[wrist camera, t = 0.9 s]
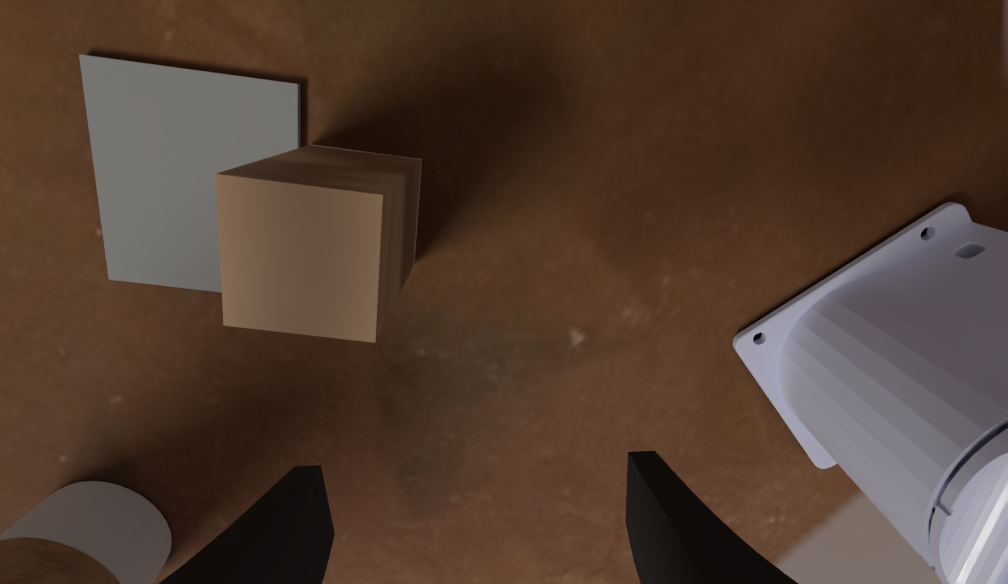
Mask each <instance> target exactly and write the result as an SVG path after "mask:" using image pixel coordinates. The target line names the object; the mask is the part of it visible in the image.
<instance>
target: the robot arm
mask: <svg viewBox="0 0 1008 584" xmlns="http://www.w3.org/2000/svg"><path fill="white" fill-rule="evenodd" d="M925 228H927V233H926V234H925V235H924V236H923V237H921V232H922V231H923V230H924V229H925ZM758 333H762V336H761V337H760V338H759V339H758V340H753V338H754V336H755V335H756V334H758ZM733 347H734V349H735V351H736V352H737V354H738V355H739V356H740V358H741V359H742V361H743V362H744V364H745V365H746V367H747V368H748V369H749V371H750V372H751V374H752V375H753V377H754V378H755V380H756V381H757V382H758V384H759V385H760V387H761V388H762V390H763V391H764V393H765V394H766V395H767V397H768V398H769V400H770V401H771V403H772V404H773V406H774V407H775V408H776V410H777V411H778V413H779V414H780V416H781V417H782V419H783V420H784V421H785V423H786V424H787V426H788V427H789V429H790V430H791V432H792V433H793V434H794V436H795V437H796V439H797V440H798V442H799V443H800V445H801V446H802V447H803V449H804V450H805V452H806V453H807V455H808V456H809V458H810V459H811V460H812V462H813V463H814V464H815V465H816V466H817V467H818V468H821V469H826V468H829V467H832V466H834V465H835V464H837V463H838V464H839V465H840V467H841V468H842V469H843V470H844V471H845V472H846V473H847V474H848V475H849V477H850V478H851V479H852V480H853V481H854V482H855V483H856V484H857V486H858V487H859V488H860V489H861V490H862V491H863V492H864V493H865V495H866V496H867V497H868V498H869V499H870V500H871V501H872V502H873V503H874V504H875V506H876V507H877V508H878V509H879V510H880V511H881V512H882V513H883V514H884V516H885V517H886V518H887V519H888V520H889V521H890V522H891V523H892V525H893V526H894V527H895V528H896V529H897V530H898V531H899V533H900V534H901V535H902V536H903V537H904V538H905V539H906V540H907V541H908V542H909V544H910V545H911V546H912V547H913V548H914V549H915V550H916V551H917V553H918V554H919V555H920V556H921V557H922V558H923V559H924V560H925V562H926V563H927V564H928V565H929V566H930V567H931V568H932V569H933V570H934V572H935V573H936V574H937V575H938V576H939V577H940V579H941V581H942V584H1008V232H1005V231H1001V230H998V229H995V228H991V227H988V226H984V225H981V224H977V223H974V222H972V220H971V218H970V216H969V214H968V212H967V210H966V208H965V207H964V206H963V205H960V204H957V203H953V202H948V203H945V204H942V205H941V206H939V207H937V208H936V209H934V210H933V211H931V212H930V213H928V214H926V215H925V216H923V217H922V218H920V219H918V220H917V221H915V222H914V223H912V224H911V225H909V226H907V227H906V228H904V229H903V230H901V231H899V232H898V233H896V234H895V235H893V236H892V237H890V238H888V239H887V240H885V241H884V242H882V243H881V244H879V245H877V246H876V247H874V248H873V249H871V250H869V251H868V252H866V253H865V254H863V255H862V256H860V257H858V258H857V259H855V260H854V261H852V262H850V263H849V264H847V265H846V266H844V267H843V268H841V269H839V270H838V271H836V272H835V273H833V274H831V275H830V276H828V277H827V278H825V279H824V280H822V281H820V282H819V283H817V284H816V285H814V286H812V287H811V288H809V289H808V290H806V291H805V292H803V293H801V294H800V295H798V296H797V297H795V298H794V299H792V300H790V301H789V302H787V303H786V304H784V305H782V306H781V307H779V308H778V309H776V310H775V311H773V312H771V313H770V314H768V315H767V316H765V317H763V318H762V319H760V320H759V321H757V322H756V323H754V324H752V325H751V326H749V327H748V328H746V329H744V330H743V331H741V332H740V333H738V334H737V335H736V336H735V338H734V340H733ZM626 526H627V531H628V536H629V540H630V545H631V550H632V554H633V559H634V563H635V567H636V570H637V573H638V576H639V579H640V582H641V584H798V583H797V582H795V581H794V580H793V579H791V578H790V577H788V576H787V575H786V574H784V573H783V572H782V571H781V570H779V569H778V568H777V567H775V566H774V565H773V564H771V563H770V562H769V561H768V560H766V559H765V558H764V557H762V556H761V555H760V554H759V553H757V552H756V551H755V550H754V549H753V548H751V547H750V546H749V545H748V544H747V543H746V542H744V541H743V540H742V539H741V538H740V537H739V536H738V535H737V534H735V533H734V532H733V531H732V530H731V529H730V528H729V527H728V526H727V525H726V524H725V523H723V522H722V521H721V520H720V519H719V518H718V517H717V516H716V515H715V514H714V513H713V512H712V511H711V510H710V509H709V508H708V507H707V506H706V505H705V504H704V503H703V502H702V501H701V500H700V499H699V498H698V497H697V496H696V495H695V494H694V493H693V492H692V491H691V490H690V489H689V488H688V486H687V485H686V484H685V483H684V482H683V481H682V480H681V479H680V478H679V477H678V476H677V475H676V474H675V472H674V471H673V470H672V469H671V468H670V467H669V466H668V465H667V464H666V462H665V461H664V460H663V459H662V458H661V457H660V456H659V455H658V454H657V453H656V452H655V451H639V452H628V469H627V497H626ZM334 535H335V533H334V528H333V523H332V518H331V513H330V508H329V503H328V498H327V494H326V489H325V484H324V479H323V474H322V469H321V465H319V466H296V467H294V468H293V469H292V470H291V471H289V472H288V473H287V474H286V475H285V476H284V477H283V478H282V479H280V480H279V481H278V482H277V483H276V484H275V485H274V486H273V487H272V488H271V489H270V490H269V491H268V492H266V493H265V494H264V495H263V496H262V497H261V498H260V499H259V500H258V501H257V502H256V503H255V504H254V505H252V506H251V507H250V508H249V509H248V510H247V511H246V512H245V513H244V514H242V515H241V516H240V517H239V518H238V519H237V520H236V521H235V522H234V523H233V524H231V525H230V526H229V527H228V528H227V529H226V530H225V531H223V532H222V533H221V534H220V535H219V536H217V537H216V538H215V539H214V540H213V541H211V542H210V543H209V544H208V545H207V546H206V547H204V548H203V549H202V550H201V551H200V552H198V553H197V554H196V555H195V556H194V557H192V558H191V559H190V560H189V561H188V562H186V563H185V564H184V565H182V566H181V567H180V568H179V569H177V570H176V571H175V572H173V573H172V574H171V575H169V576H168V577H167V578H166V579H164V580H163V581H161V582H160V583H159V584H322V581H323V578H324V575H325V571H326V567H327V563H328V560H329V556H330V551H331V547H332V543H333V539H334Z"/></svg>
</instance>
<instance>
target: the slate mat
mask: <svg viewBox="0 0 1008 584" xmlns="http://www.w3.org/2000/svg"><path fill="white" fill-rule="evenodd" d="M79 58H80V66H81V73H82V81H83V88H84V96H85V104H86V111H87V119H88V126H89V134H90V141H91V149H92V156H93V164H94V172H95V179H96V187H97V194H98V202H99V209H100V217H101V224H102V232H103V240H104V247H105V255H106V262H107V270H108V277H109V280H118V281H127V282H135V283H144V284H153V285H161V286H170V287H179V288H187V289H196V290H205V291H213V292H222V288H221V270H220V252H219V234H218V217H217V199H216V181H215V174H216V173H219V172H222V171H226V170H229V169H232V168H236V167H239V166H242V165H245V164H249V163H252V162H255V161H259V160H262V159H265V158H268V157H272V156H275V155H278V154H281V153H285V152H288V151H291V150H295V149H298V148H301V84H296V83H289V82H281V81H274V80H266V79H259V78H252V77H244V76H237V75H230V74H222V73H215V72H207V71H200V70H193V69H185V68H178V67H171V66H163V65H156V64H148V63H141V62H134V61H126V60H119V59H112V58H104V57H97V56H89V55H79Z"/></svg>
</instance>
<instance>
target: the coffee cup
mask: <svg viewBox="0 0 1008 584" xmlns="http://www.w3.org/2000/svg"><path fill="white" fill-rule="evenodd" d="M171 544H172V538H171V531H170V529H169V526H168V523H167V521H166V520H165V518H164V517H163V515H162V514H161V512H160V511H159V510H158V509H157V508H156V507H155V506H154V505H153V504H152V503H151V502H149V501H148V500H147V499H146V498H144V497H143V496H141V495H140V494H138V493H136V492H134V491H132V490H130V489H128V488H125V487H123V486H120V485H116V484H112V483H108V482H100V481H84V482H78V483H74V484H70V485H67V486H65V487H63V488H61V489H59V490H57V491H56V492H54V493H53V494H52V495H50V496H49V497H48V498H47V499H45V500H44V501H43V502H41V503H40V504H39V505H38V506H36V507H35V508H34V509H33V510H31V511H30V512H29V513H28V514H26V515H25V516H24V517H23V518H21V519H20V520H19V521H17V522H16V523H15V524H14V525H12V526H11V527H10V528H9V529H7V530H6V531H5V532H4V533H2V534H1V535H0V584H153V582H154V581H155V579H156V577H157V576H158V574H159V572H160V571H161V569H162V567H163V566H164V564H165V562H166V560H167V558H168V556H169V553H170V551H171Z"/></svg>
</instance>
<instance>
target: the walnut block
mask: <svg viewBox="0 0 1008 584" xmlns="http://www.w3.org/2000/svg"><path fill="white" fill-rule="evenodd" d="M421 167H422V159H418V158H410V157H402V156H395V155H387V154H379V153H372V152H364V151H356V150H349V149H341V148H333V147H326V146H318V145H308V146H304V147H301V148H298V149H295V150H291V151H288V152H285V153H281V154H278V155H275V156H272V157H268V158H265V159H262V160H259V161H255V162H252V163H249V164H245V165H242V166H239V167H236V168H232V169H229V170H226V171H222V172H219V173H216V174H215V181H216V199H217V217H218V234H219V252H220V270H221V288H222V305H223V323H224V326H232V327H241V328H250V329H259V330H267V331H276V332H285V333H294V334H303V335H312V336H320V337H329V338H338V339H347V340H356V341H365V342H373V343H375V342H376V340H377V338H378V336H379V334H380V332H381V330H382V328H383V326H384V324H385V322H386V320H387V318H388V316H389V314H390V312H391V310H392V308H393V306H394V304H395V302H396V300H397V298H398V296H399V294H400V292H401V290H402V287H403V285H404V283H405V281H406V279H407V277H408V275H409V273H410V271H411V269H412V267H413V265H414V261H415V247H416V234H417V221H418V207H419V194H420V180H421Z"/></svg>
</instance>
